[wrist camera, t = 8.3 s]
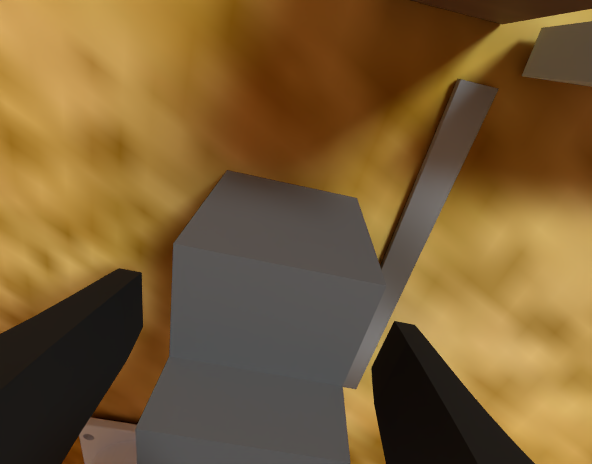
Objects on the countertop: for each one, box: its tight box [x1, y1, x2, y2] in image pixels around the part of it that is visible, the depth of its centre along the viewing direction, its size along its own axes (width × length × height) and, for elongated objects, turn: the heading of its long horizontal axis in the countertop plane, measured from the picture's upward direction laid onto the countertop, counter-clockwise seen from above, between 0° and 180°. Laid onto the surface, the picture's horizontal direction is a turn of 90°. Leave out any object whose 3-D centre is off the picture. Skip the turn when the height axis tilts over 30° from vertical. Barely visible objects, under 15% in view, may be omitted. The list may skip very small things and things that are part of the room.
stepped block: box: [135, 170, 387, 464], centre depth 9 cm, size 7×4×6 cm, turn 168°
